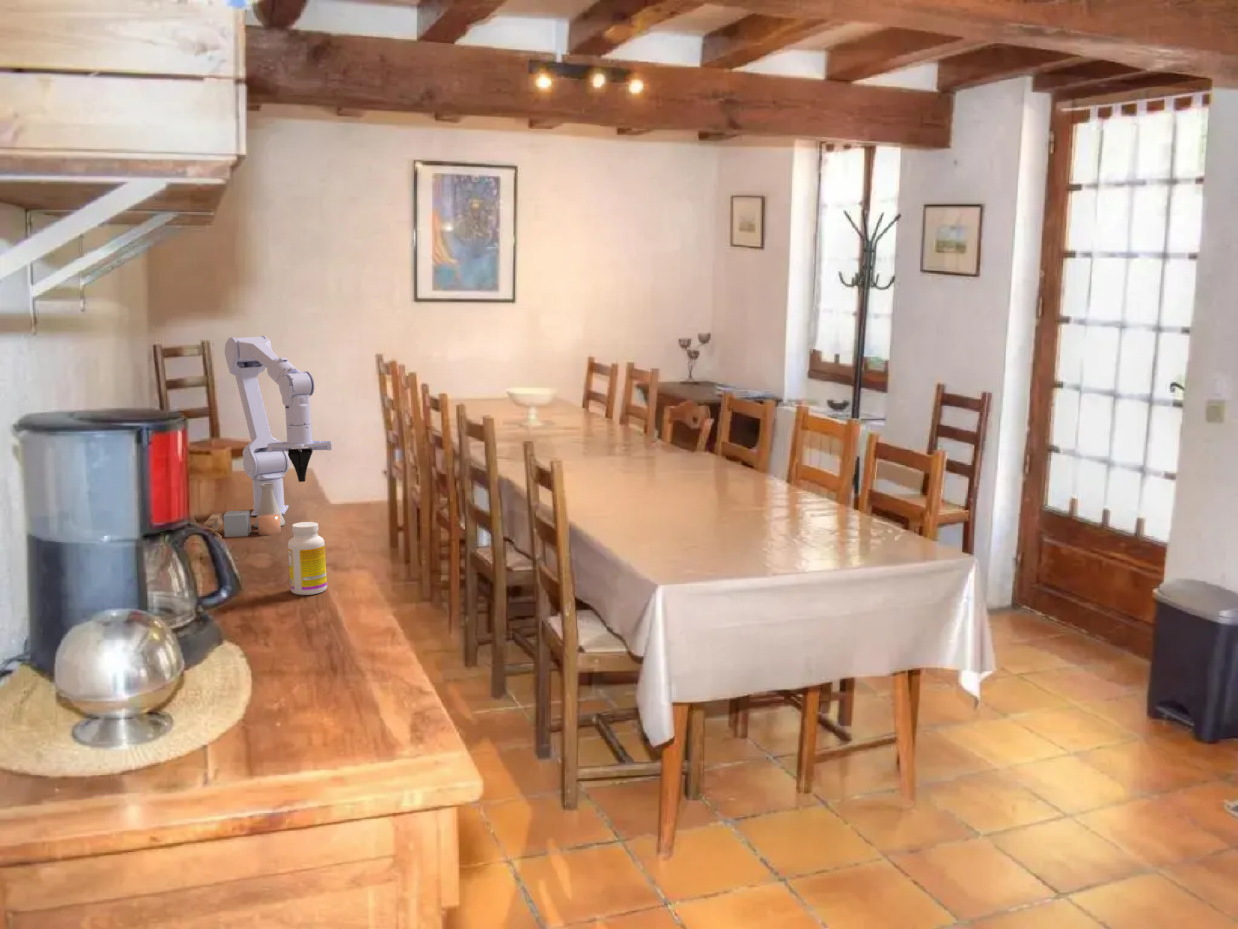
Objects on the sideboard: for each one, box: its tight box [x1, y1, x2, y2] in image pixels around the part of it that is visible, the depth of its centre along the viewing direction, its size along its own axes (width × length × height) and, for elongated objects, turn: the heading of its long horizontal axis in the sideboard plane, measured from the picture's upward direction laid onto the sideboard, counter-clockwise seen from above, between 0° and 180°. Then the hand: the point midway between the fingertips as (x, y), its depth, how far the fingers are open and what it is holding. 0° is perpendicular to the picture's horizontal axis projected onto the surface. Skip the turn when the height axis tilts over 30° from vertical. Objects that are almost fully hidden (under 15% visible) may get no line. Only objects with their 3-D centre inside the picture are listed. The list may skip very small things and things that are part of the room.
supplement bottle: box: [287, 521, 328, 596], centre depth 211 cm, size 7×7×13 cm
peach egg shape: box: [256, 514, 282, 536], centre depth 259 cm, size 5×5×4 cm
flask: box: [253, 483, 286, 528], centre depth 266 cm, size 7×7×10 cm
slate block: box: [222, 510, 252, 538], centre depth 258 cm, size 5×5×5 cm
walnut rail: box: [202, 512, 224, 532], centre depth 262 cm, size 14×2×2 cm, turn 9°
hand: (302, 481), depth 266 cm, fingers closed
